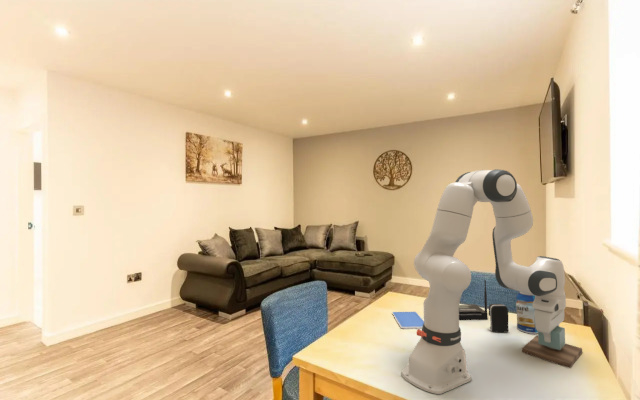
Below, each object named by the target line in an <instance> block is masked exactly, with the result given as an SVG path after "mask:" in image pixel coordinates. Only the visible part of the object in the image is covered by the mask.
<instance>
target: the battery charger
mask: <svg viewBox="0 0 640 400" xmlns="http://www.w3.org/2000/svg"><path fill="white" fill-rule="evenodd" d="M488 316H489V317H490V318H489V319H490V320H489V321H490V328H489V329H490V331H491V332H493V333H509V309H508V306H506V304H503V303H491V304H489V306H488Z"/></svg>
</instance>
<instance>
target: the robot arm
mask: <svg viewBox="0 0 640 400" xmlns="http://www.w3.org/2000/svg"><path fill="white" fill-rule="evenodd" d="M514 176H515V175H513V174H512V173H511V172H510V171H508V170H504V169H479V170H478V169H477V170H473V171H468V172H465V173H463V174H461V175H460V176H458V177H457V179H456V180H455V181H454V182H451V183H449V184H447V185H446V187H445V188H444V190H443V193H442V195H441V197H440V199H439V202H438V205H437V209H436V213H435V216H434V220H433V224H432V227H431V231H430V233H429V236H428V237H427V240H426V241H425V244H424V246H422V249H421V250H420V251H419V252H418V253H417V254H416V255H415V257H414V259H413V266H414V269H415V271H416V272H417V273H418V275H419V276H420V277H421V278H422V279H424V280H426V281H428V283H429V291H428V294H427V297H426V298H425V299H424V300H423V321H424V324H423V327H422V329H417V330H416V336H419V337H420V339H419V341H418V342H417V343H416V345H415V346H414V348H413V349H412V352H411V353H410V355H409V357H408V364H407V365H406V366H405V367H404V368H403V369H402V370H401V376H402V378H403V379H405V381H406V382H408V383H410V384H411V385H413V386H414V387H417V388H419V389H421V390H422V391H426V392H428V393H432V394H436V395H441V394H444V393H447V392H449V391H451V390H453V389H456V388H458V387H460V386H463V385H464V384H467V383H469V382H471V381H472V376H471V375H470V373H469V372H468V368H467V366H468V365H467V359H466V358H467V357H466V351H465V349H464V348H463V346H462V344H461V341H462V332H461V331H462V330H461V327H460V320H459V305H460V304H461V303H460V302H461V298H462V294H463V292H464V291H465V290H467V289H468V287H469V286H470V284H471V281H472V272H471V269H470V267H469V266H468V265H467V264H465V263H464V261H462V260H461V259H459V258H458V257H455V253H456V252H457V249H458V248H459V247H460V246H461V245H462V244H464V243H465V242H466V241H467V236H468V233H469V230H470V229H469V228H470V225H471V220H472V216H473V212H474V206H475V205H476V204H477V202H480V203H490V204H491V206H492V209H493V210H492V211H493V215H494V219H495V226H494V228H493V229H492V245H493V247H492V248H493V251H494V252H493V253H494V261H495V268H494V269H495V270H494V271H495V272H494V273H495V274H494V275H495V279H496V282H497V283H498V285H500V287H502V288H504V289H509V290H514V291H517V292H523V293H527V294H530V295H534V296H535V299H534V301H533V304H532V307H533V308H534V309H535V311H534V316H535V326H536V329H537V331H538V332H541V333H543V335H544V340H545V342H549V343H550V342H551V341H552V340H551V339H552V337H551V334H550V333H551V331H552V330H554V329H555V328H556V327H557V326H559V327H560V324H562V322H563V321H564V320H565V309H566V308H567V305H566V304H567V302H566V297H567V296H566V291H565V284H566V275H565V268H564V264H563V262H562V260H560V259H558V258H555V257H548V256H544V255H543V256H542V255H539V256H537V257H535V262H534V263H532V264H531V265H529V266H525V265H523V264H518V263H516V262H515V261H514V259H513V254H512V253H513V252H512V246H511V245H512V244H511V243H512V241H513V239H516V238H519V237H522V236H524V235H526V234H527V233H529V231H531V230H532V228H533V226H534V218H533V217H534V216H533V213H532V210H531V207H530V204H529V200H528V198H527V196H526V194H525V192H524V190H523V188H522V186H521V185H520V184H519V183H517V180H516V178H515V177H514Z"/></svg>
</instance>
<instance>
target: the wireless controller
mask: <svg viewBox="0 0 640 400" xmlns="http://www.w3.org/2000/svg"><path fill="white" fill-rule="evenodd" d="M487 295H488V294H487V281H486V279H484V296H483V297H484V300H483V301H484V309H483V308H482V307H480V306H478V305H477V304H466V305H465V304H461V305H460V304H459V321H488V296H487Z"/></svg>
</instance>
